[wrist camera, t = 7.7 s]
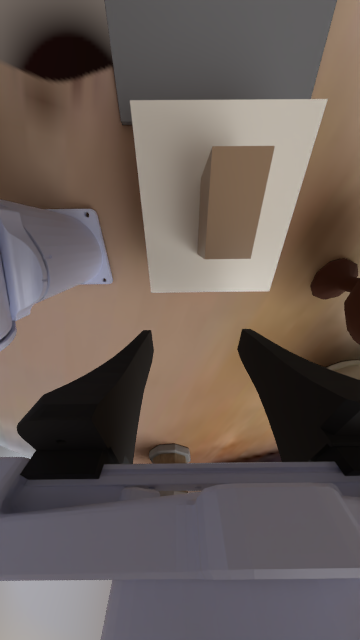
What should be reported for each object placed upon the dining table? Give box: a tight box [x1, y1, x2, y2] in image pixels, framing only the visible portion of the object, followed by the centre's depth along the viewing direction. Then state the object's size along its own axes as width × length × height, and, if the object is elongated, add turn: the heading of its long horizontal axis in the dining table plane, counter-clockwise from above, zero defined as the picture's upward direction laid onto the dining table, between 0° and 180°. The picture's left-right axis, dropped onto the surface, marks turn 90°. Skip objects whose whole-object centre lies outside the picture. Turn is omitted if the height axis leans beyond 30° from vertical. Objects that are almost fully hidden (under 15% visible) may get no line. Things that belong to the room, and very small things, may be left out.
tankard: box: [149, 444, 191, 496], centre depth 42 cm, size 20×13×15 cm, turn 8°
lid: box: [130, 99, 328, 293], centre depth 10 cm, size 12×12×5 cm
